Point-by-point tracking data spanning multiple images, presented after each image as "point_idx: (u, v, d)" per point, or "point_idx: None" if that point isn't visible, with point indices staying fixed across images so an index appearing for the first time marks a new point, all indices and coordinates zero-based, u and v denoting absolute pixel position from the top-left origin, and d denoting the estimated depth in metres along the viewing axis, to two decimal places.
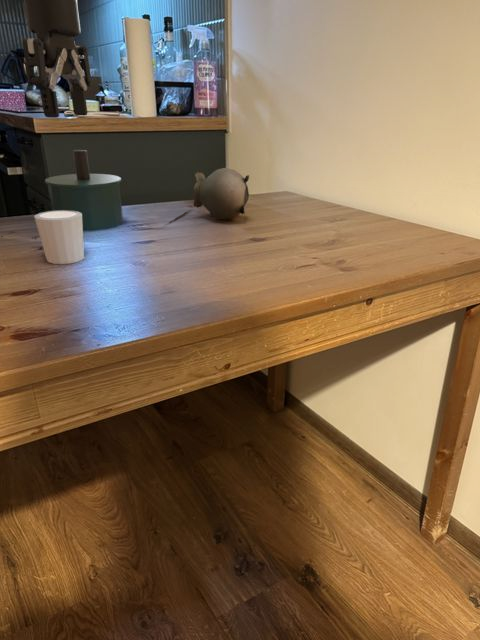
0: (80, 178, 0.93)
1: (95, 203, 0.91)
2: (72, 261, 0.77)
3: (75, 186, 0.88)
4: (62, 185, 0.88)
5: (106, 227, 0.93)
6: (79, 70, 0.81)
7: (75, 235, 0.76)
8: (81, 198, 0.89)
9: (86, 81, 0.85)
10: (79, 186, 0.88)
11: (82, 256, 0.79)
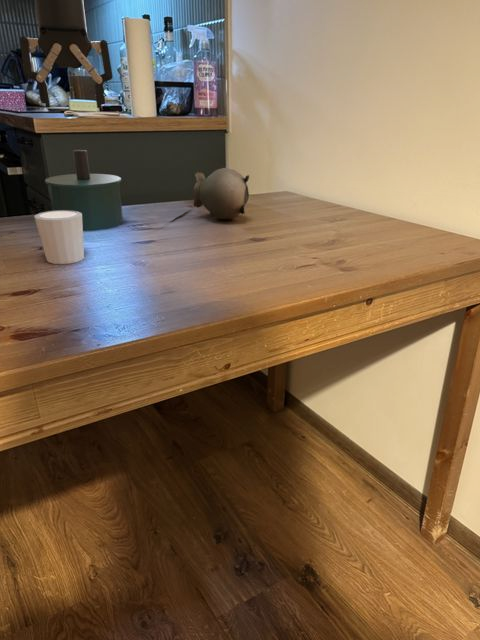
0: (80, 178, 0.93)
1: (95, 203, 0.91)
2: (72, 261, 0.77)
3: (75, 186, 0.88)
4: (62, 185, 0.88)
5: (106, 227, 0.93)
6: (85, 64, 0.84)
7: (75, 235, 0.76)
8: (81, 198, 0.89)
9: (105, 74, 0.87)
10: (79, 186, 0.88)
11: (82, 256, 0.79)
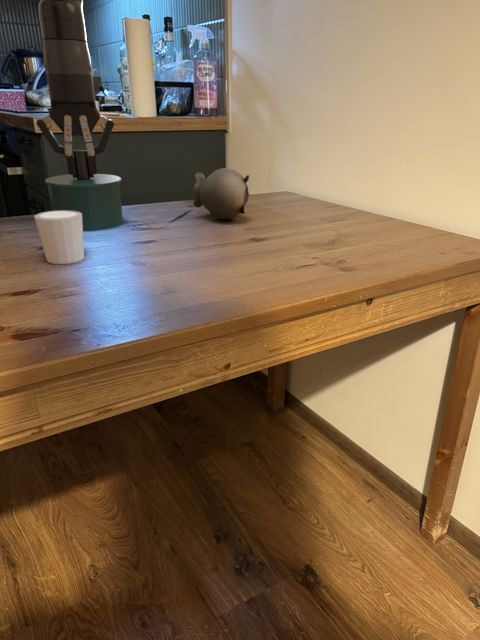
0: (80, 178, 0.93)
1: (95, 203, 0.91)
2: (72, 261, 0.77)
3: (75, 186, 0.88)
4: (62, 185, 0.88)
5: (106, 227, 0.93)
6: (86, 135, 0.89)
7: (75, 235, 0.76)
8: (81, 198, 0.89)
9: (97, 148, 0.91)
10: (79, 186, 0.88)
11: (82, 256, 0.79)
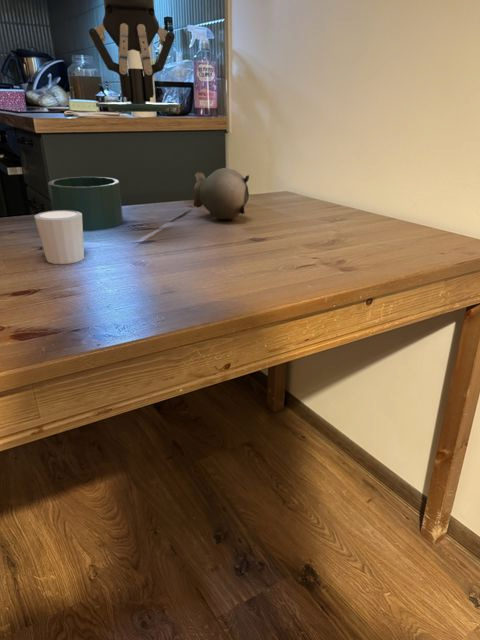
0: (135, 101, 0.81)
1: (95, 203, 0.91)
2: (72, 261, 0.77)
3: (133, 106, 0.77)
4: (118, 105, 0.77)
5: (106, 227, 0.93)
6: (143, 49, 0.78)
7: (75, 235, 0.76)
8: (81, 198, 0.89)
9: (155, 65, 0.80)
10: (137, 106, 0.77)
11: (82, 256, 0.79)
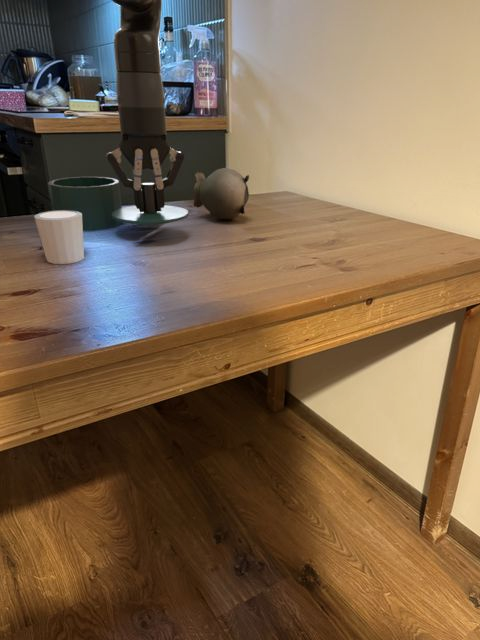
0: (147, 212, 0.89)
1: (95, 203, 0.91)
2: (72, 261, 0.77)
3: (146, 222, 0.84)
4: (132, 221, 0.84)
5: (106, 227, 0.93)
6: (156, 169, 0.86)
7: (75, 235, 0.76)
8: (81, 198, 0.89)
9: (166, 181, 0.88)
10: (150, 222, 0.84)
11: (82, 256, 0.79)
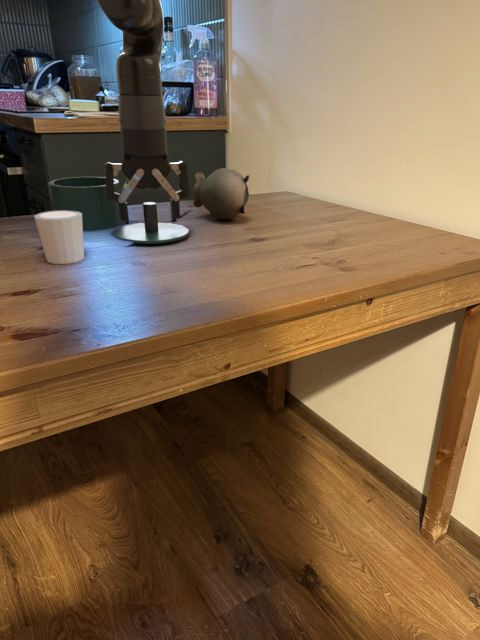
0: (149, 231, 0.91)
1: (95, 203, 0.91)
2: (72, 261, 0.77)
3: (147, 242, 0.86)
4: (134, 241, 0.86)
5: (106, 227, 0.93)
6: (164, 185, 0.87)
7: (75, 235, 0.76)
8: (81, 198, 0.89)
9: (182, 192, 0.89)
10: (151, 242, 0.86)
11: (82, 256, 0.79)
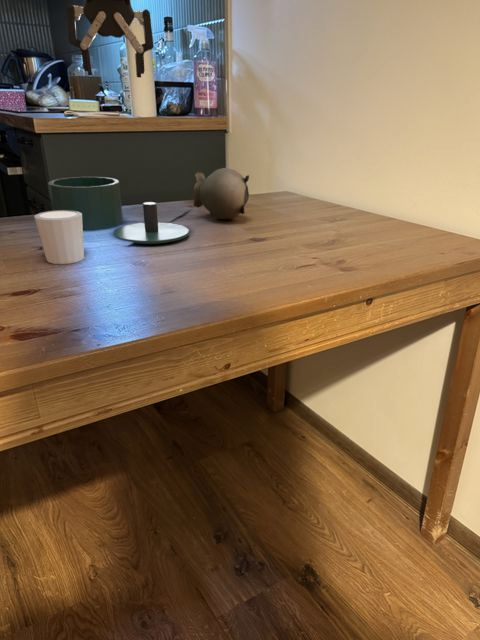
0: (149, 231, 0.91)
1: (95, 203, 0.91)
2: (72, 261, 0.77)
3: (147, 242, 0.86)
4: (134, 241, 0.86)
5: (106, 227, 0.93)
6: (127, 33, 0.86)
7: (75, 235, 0.76)
8: (81, 198, 0.89)
9: (146, 44, 0.89)
10: (151, 242, 0.86)
11: (82, 256, 0.79)
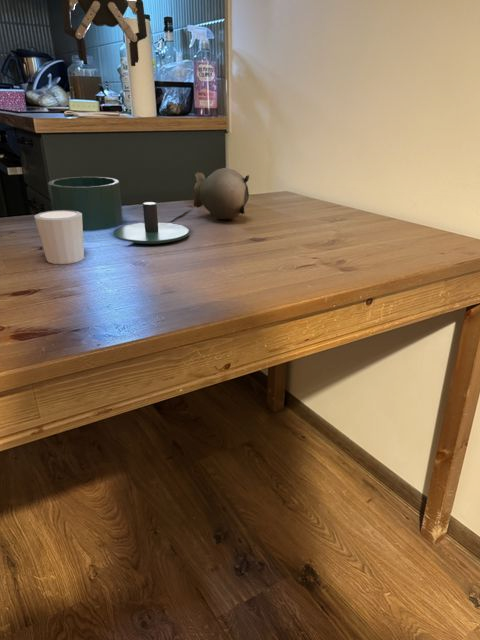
0: (149, 231, 0.91)
1: (95, 203, 0.91)
2: (72, 261, 0.77)
3: (147, 242, 0.86)
4: (134, 241, 0.86)
5: (106, 227, 0.93)
6: (121, 22, 0.88)
7: (75, 235, 0.76)
8: (81, 198, 0.89)
9: (140, 33, 0.91)
10: (151, 242, 0.86)
11: (82, 256, 0.79)
